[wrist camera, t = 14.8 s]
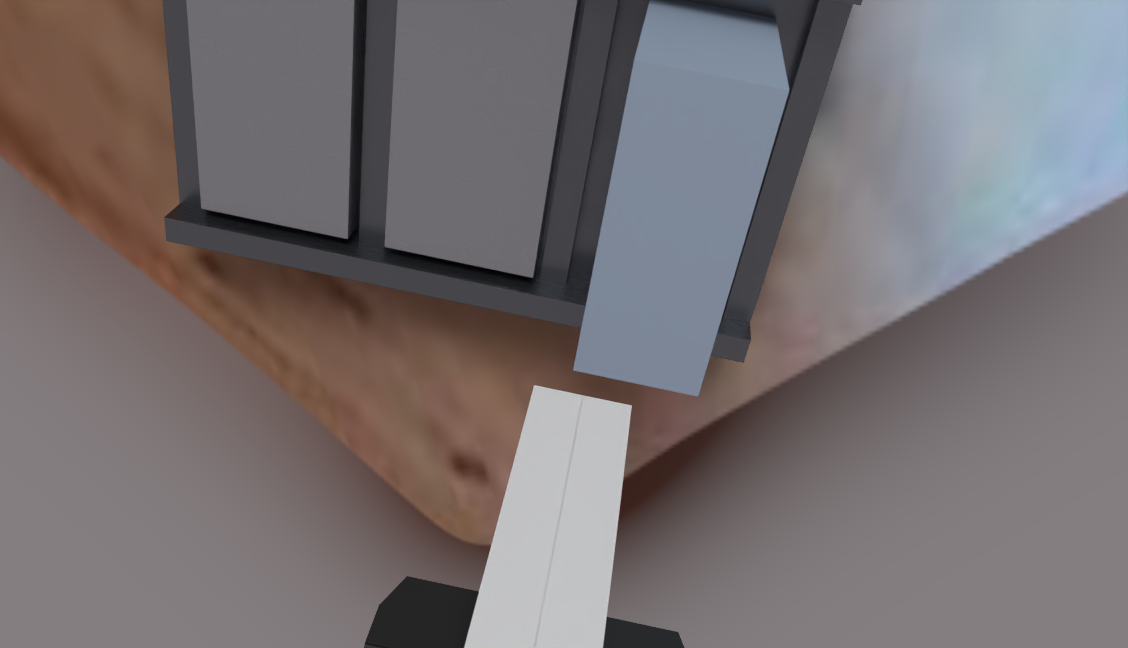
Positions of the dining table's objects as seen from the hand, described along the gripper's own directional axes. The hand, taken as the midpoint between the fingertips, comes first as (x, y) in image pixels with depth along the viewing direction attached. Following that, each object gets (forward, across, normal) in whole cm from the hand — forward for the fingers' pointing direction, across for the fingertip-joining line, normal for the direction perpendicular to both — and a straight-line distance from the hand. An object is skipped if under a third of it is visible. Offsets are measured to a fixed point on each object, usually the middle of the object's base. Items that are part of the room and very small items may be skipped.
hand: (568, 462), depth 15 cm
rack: (+21, -5, -2) cm, 21 cm away
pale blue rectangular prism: (+20, +2, -3) cm, 20 cm away
